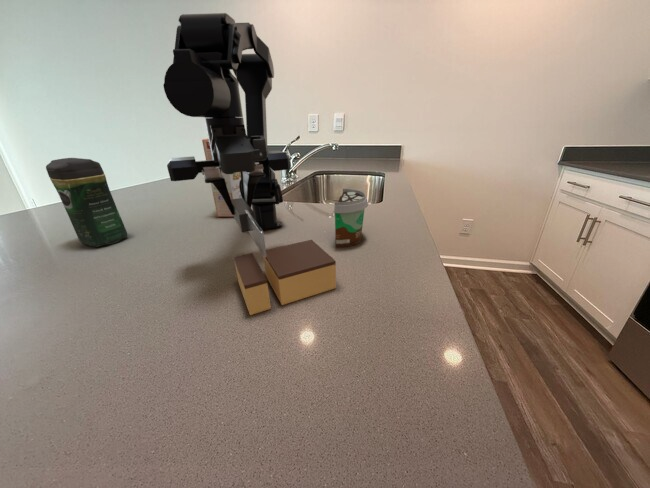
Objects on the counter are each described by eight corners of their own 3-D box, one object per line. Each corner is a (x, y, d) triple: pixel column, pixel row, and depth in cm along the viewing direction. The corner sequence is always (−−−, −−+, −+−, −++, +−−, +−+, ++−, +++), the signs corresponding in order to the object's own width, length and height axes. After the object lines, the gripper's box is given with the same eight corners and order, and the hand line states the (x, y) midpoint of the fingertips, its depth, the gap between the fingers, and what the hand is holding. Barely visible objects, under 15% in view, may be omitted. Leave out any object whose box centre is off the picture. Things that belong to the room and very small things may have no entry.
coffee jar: (135, 237, 62) (104, 156, 54) (96, 250, 56) (56, 161, 48) (113, 231, 66) (81, 155, 58) (75, 243, 60) (34, 159, 52)
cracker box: (237, 217, 73) (223, 138, 64) (216, 218, 73) (199, 138, 64) (251, 203, 86) (240, 135, 77) (233, 203, 86) (220, 136, 77)
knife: (232, 214, 49) (229, 196, 48) (245, 212, 50) (242, 194, 49) (256, 259, 33) (252, 233, 31) (274, 255, 34) (271, 229, 32)
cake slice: (238, 283, 43) (233, 256, 41) (256, 278, 44) (252, 252, 42) (250, 315, 36) (244, 285, 34) (271, 308, 37) (266, 279, 35)
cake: (265, 276, 45) (262, 250, 43) (312, 263, 48) (311, 239, 46) (281, 305, 37) (278, 276, 35) (336, 288, 41) (335, 260, 39)
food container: (364, 251, 52) (366, 204, 48) (334, 249, 53) (334, 203, 49) (367, 229, 63) (369, 188, 59) (342, 227, 64) (343, 187, 60)
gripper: (148, 118, 30) (183, 239, 37) (298, 115, 37) (304, 217, 44) (157, 119, 39) (184, 216, 46) (276, 117, 46) (284, 201, 53)
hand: (240, 213), depth 47 cm, fingers closed on knife, 2 cm apart
